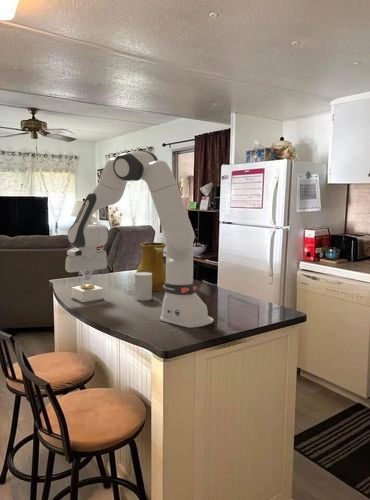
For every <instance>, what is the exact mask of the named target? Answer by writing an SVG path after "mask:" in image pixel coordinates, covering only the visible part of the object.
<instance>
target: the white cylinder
mask: <svg viewBox="0 0 370 500" xmlns="http://www.w3.org/2000/svg"><path fill="white" fill-rule="evenodd" d="M152 293H153V291H152V273H148V272H139V273H136V272H135V273H134V300H136V301H150V300H153V299H152V298H153V294H152Z"/></svg>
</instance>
